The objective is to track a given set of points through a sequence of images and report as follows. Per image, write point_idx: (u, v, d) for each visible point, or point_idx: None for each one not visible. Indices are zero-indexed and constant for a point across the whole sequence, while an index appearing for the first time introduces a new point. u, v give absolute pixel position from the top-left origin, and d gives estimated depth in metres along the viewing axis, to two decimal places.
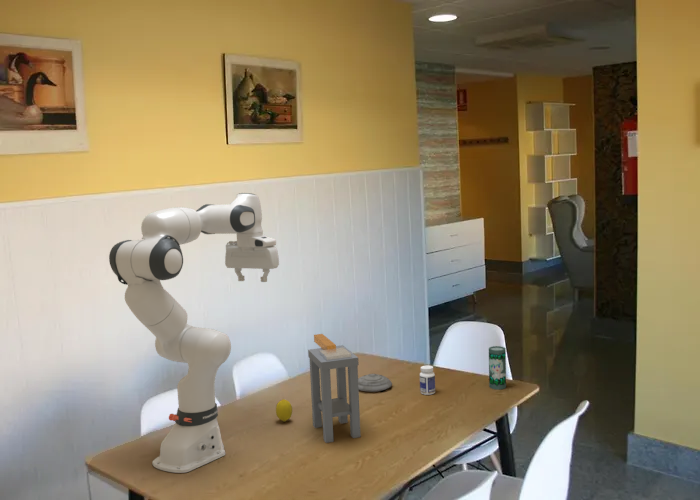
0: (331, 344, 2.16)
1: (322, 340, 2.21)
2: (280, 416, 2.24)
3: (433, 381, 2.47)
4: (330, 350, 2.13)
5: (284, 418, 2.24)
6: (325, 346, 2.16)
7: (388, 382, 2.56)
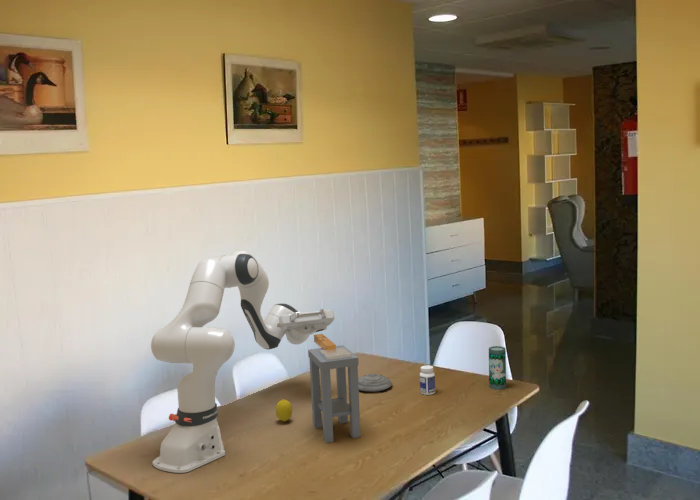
0: (331, 344, 2.16)
1: (322, 340, 2.21)
2: (280, 416, 2.24)
3: (433, 381, 2.47)
4: (330, 350, 2.13)
5: (284, 418, 2.24)
6: (325, 346, 2.16)
7: (388, 382, 2.56)
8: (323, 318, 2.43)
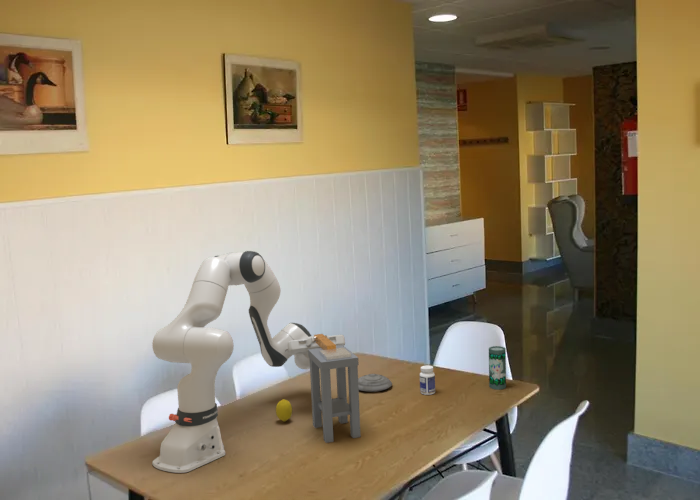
0: (331, 344, 2.16)
1: (322, 340, 2.21)
2: (280, 416, 2.24)
3: (433, 381, 2.47)
4: (330, 350, 2.13)
5: (284, 418, 2.24)
6: (325, 346, 2.16)
7: (388, 382, 2.56)
8: None
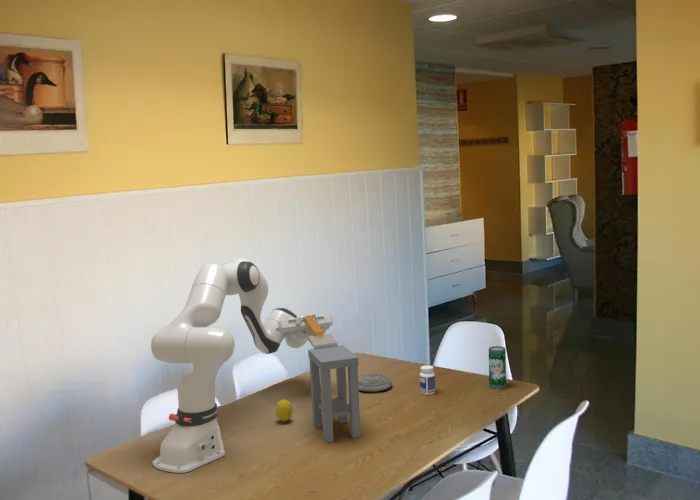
0: (319, 330, 2.29)
1: (311, 324, 2.34)
2: (280, 416, 2.24)
3: (433, 381, 2.47)
4: (318, 336, 2.27)
5: (284, 418, 2.24)
6: (313, 332, 2.29)
7: (388, 382, 2.56)
8: (321, 323, 2.46)
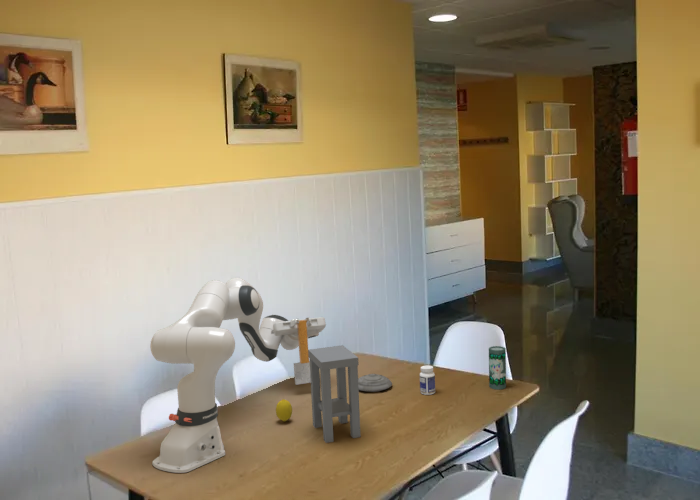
0: (306, 359, 2.51)
1: (301, 344, 2.51)
2: (280, 416, 2.24)
3: (433, 381, 2.47)
4: (302, 366, 2.52)
5: (284, 418, 2.24)
6: (300, 358, 2.51)
7: (388, 382, 2.56)
8: (315, 325, 2.55)
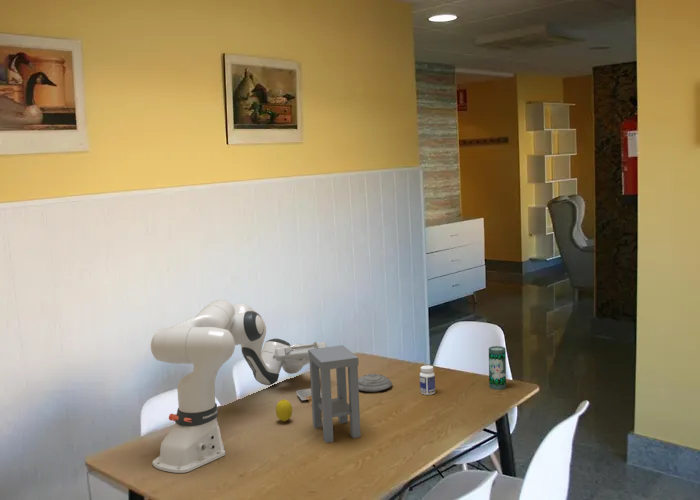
0: None
1: None
2: (280, 416, 2.24)
3: (433, 381, 2.47)
4: None
5: (284, 418, 2.24)
6: (309, 402, 2.43)
7: (388, 382, 2.56)
8: None
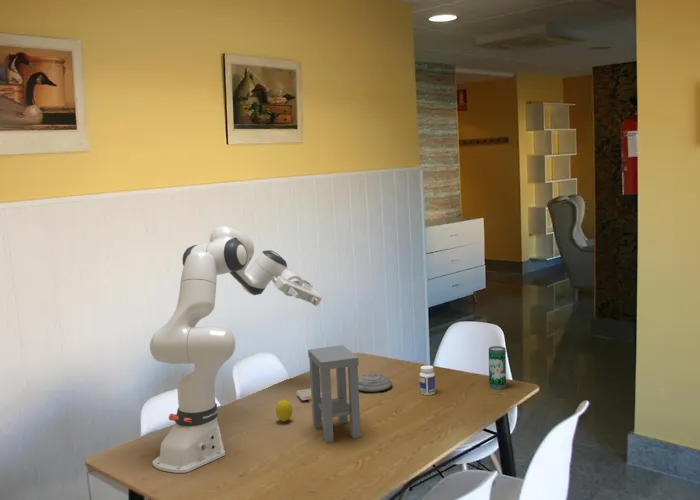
0: None
1: None
2: (280, 416, 2.24)
3: (433, 381, 2.47)
4: None
5: (284, 418, 2.24)
6: (309, 402, 2.43)
7: (388, 382, 2.56)
8: (310, 302, 2.54)
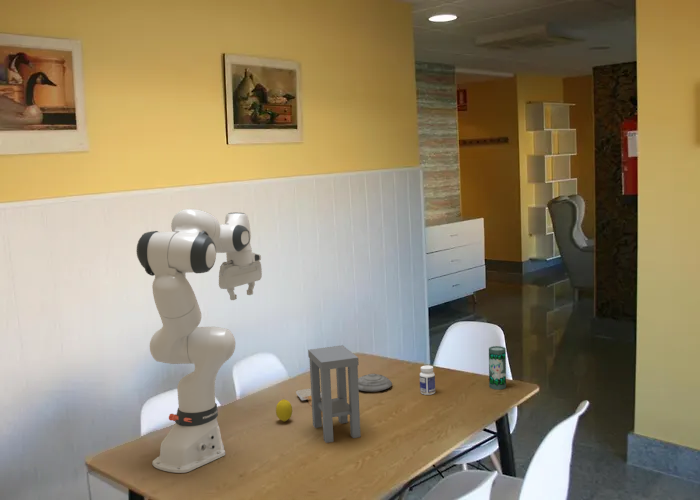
0: None
1: None
2: (280, 416, 2.24)
3: (433, 381, 2.47)
4: None
5: (284, 418, 2.24)
6: (309, 402, 2.43)
7: (388, 382, 2.56)
8: None
